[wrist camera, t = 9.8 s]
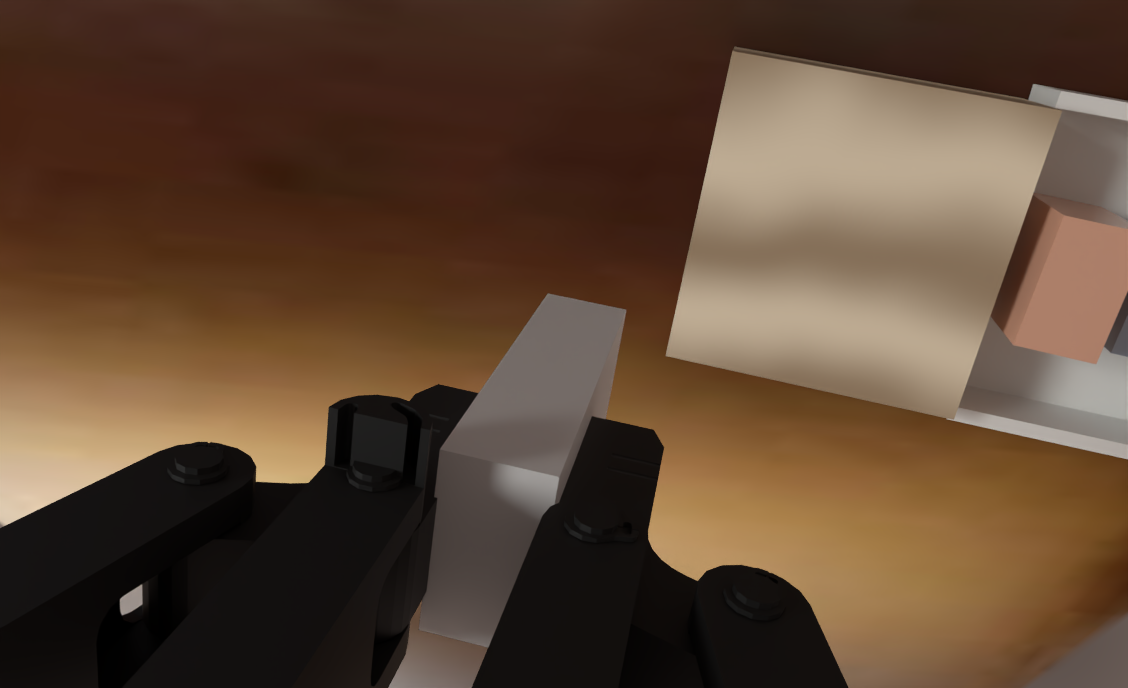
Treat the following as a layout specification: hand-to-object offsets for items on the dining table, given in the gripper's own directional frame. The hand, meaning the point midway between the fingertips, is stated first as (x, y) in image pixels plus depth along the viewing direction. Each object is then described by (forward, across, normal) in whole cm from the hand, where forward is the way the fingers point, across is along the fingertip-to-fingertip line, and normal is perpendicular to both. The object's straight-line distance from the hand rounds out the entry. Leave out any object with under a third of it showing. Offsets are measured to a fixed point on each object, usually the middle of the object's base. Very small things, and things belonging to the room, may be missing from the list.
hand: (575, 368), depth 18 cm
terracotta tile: (+21, +14, -1) cm, 26 cm away
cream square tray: (+24, +7, -1) cm, 25 cm away
